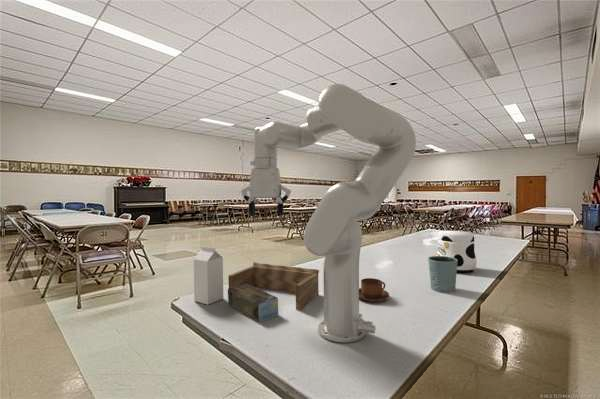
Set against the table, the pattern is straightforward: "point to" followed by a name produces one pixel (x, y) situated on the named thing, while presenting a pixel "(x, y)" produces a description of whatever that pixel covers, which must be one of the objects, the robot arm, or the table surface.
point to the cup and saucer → (372, 290)
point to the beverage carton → (253, 302)
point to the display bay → (280, 280)
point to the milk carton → (208, 276)
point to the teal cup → (443, 273)
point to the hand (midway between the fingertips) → (266, 215)
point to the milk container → (458, 248)
